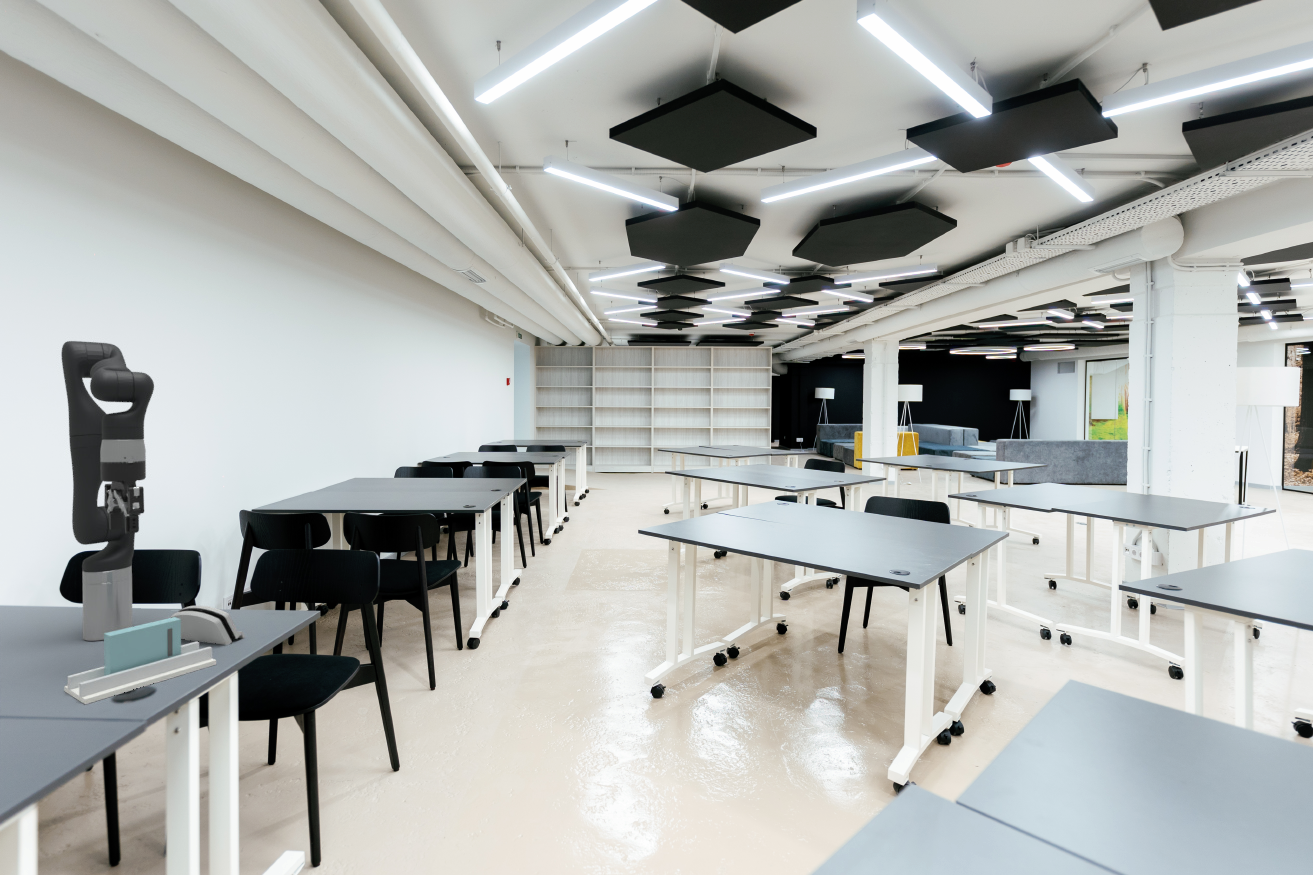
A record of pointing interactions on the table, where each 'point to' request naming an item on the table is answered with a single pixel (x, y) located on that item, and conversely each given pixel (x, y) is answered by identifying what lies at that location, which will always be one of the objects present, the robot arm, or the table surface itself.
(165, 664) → the door track
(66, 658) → the table surface
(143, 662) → the door panel
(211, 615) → the grey arched block
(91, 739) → the table surface
